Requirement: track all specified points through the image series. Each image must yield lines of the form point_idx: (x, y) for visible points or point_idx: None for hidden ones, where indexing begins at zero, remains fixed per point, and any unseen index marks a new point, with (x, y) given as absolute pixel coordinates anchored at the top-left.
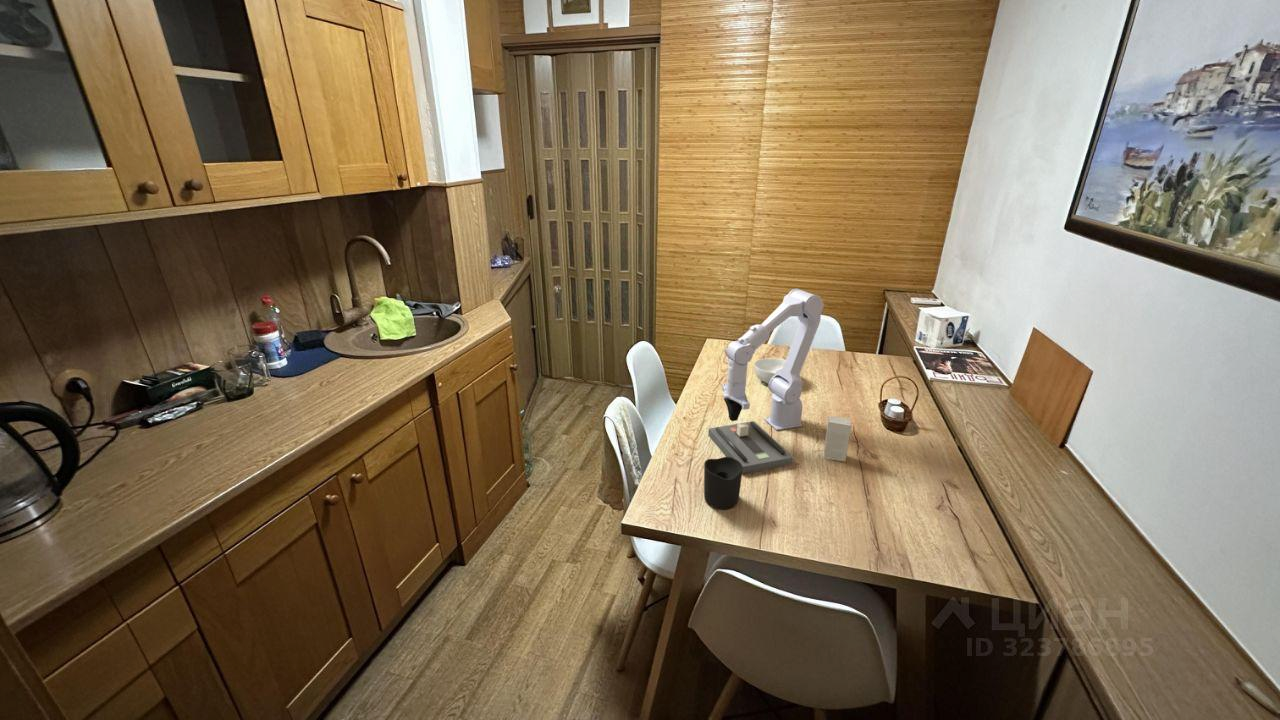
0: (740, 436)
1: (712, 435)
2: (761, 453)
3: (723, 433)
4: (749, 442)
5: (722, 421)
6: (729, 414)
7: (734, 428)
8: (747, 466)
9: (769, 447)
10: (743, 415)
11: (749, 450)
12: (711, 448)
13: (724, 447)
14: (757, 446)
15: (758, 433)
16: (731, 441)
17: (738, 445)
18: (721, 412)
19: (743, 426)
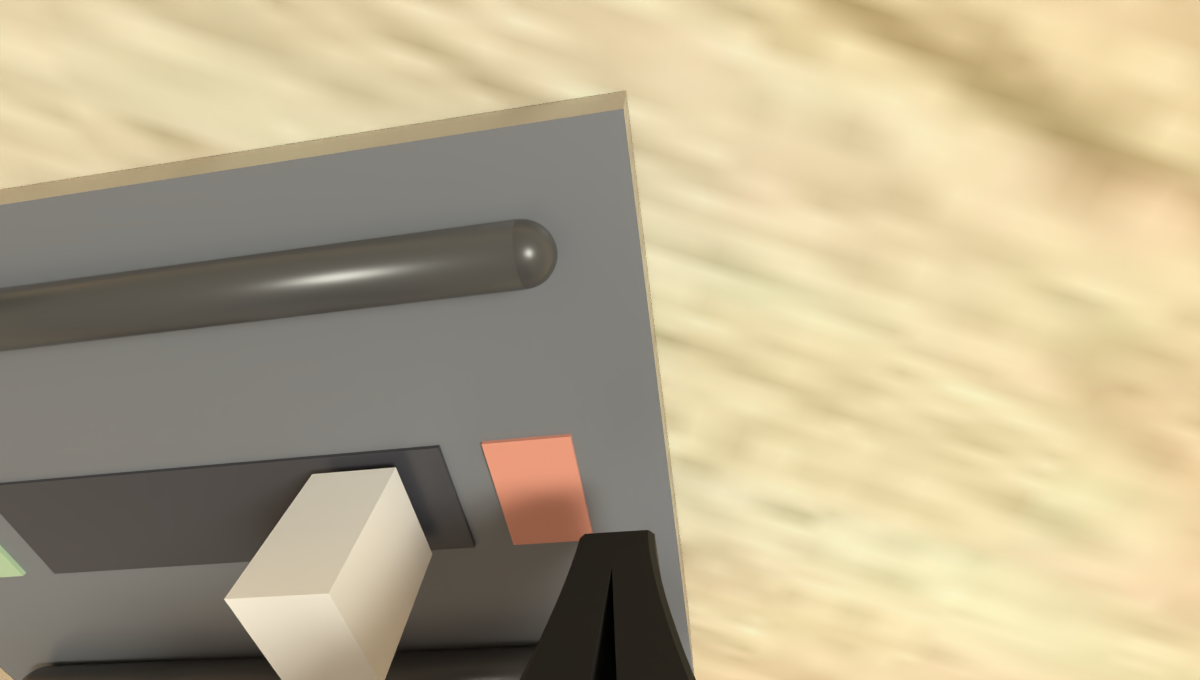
0: (314, 483)
1: (460, 126)
2: (10, 543)
3: (292, 301)
4: (211, 519)
5: (943, 398)
6: (619, 614)
7: (557, 481)
8: None
9: (159, 629)
10: (961, 613)
11: (31, 465)
12: (246, 26)
13: (34, 198)
14: (139, 557)
15: (427, 639)
16: (206, 344)
17: (118, 393)
18: (1169, 455)
19: (263, 637)
